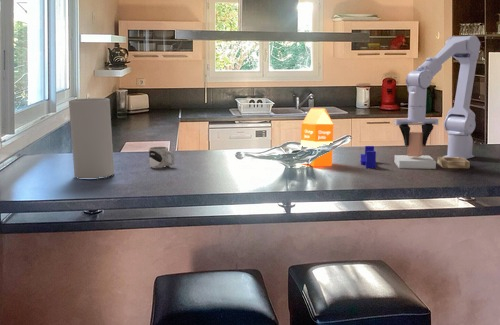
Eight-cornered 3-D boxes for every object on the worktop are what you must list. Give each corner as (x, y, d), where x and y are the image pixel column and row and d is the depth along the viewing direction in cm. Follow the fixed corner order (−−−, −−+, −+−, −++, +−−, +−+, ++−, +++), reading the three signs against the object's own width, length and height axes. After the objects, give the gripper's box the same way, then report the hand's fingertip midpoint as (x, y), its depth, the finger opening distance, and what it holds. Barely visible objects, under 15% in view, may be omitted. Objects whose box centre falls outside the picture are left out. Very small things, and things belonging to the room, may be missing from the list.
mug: (145, 167, 189) (145, 148, 188) (157, 164, 195) (156, 146, 194) (169, 169, 185) (168, 150, 184) (180, 166, 191) (179, 147, 189)
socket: (462, 163, 189) (462, 157, 189) (469, 168, 181) (469, 161, 180) (437, 163, 190) (437, 156, 190) (443, 167, 182) (443, 161, 181)
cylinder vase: (72, 174, 179) (67, 99, 175) (111, 170, 184) (106, 97, 179) (76, 182, 168) (70, 101, 163) (117, 178, 173) (112, 100, 168)
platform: (428, 162, 192) (429, 155, 191) (435, 168, 181) (436, 161, 180) (394, 162, 193) (394, 155, 193) (399, 168, 182) (399, 161, 182)
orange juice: (313, 166, 184) (315, 108, 182) (299, 163, 192) (301, 107, 190) (332, 165, 188) (334, 108, 186) (317, 163, 196) (319, 108, 194)
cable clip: (360, 162, 195) (361, 145, 194) (373, 162, 194) (373, 146, 193) (361, 168, 183) (362, 151, 182) (375, 169, 182) (375, 151, 181)
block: (422, 155, 187) (423, 132, 185) (418, 157, 183) (419, 133, 182) (411, 154, 189) (412, 131, 187) (407, 155, 186) (408, 133, 184)
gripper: (433, 104, 187) (431, 143, 190) (392, 105, 187) (391, 144, 189) (441, 106, 180) (439, 146, 183) (398, 107, 180) (397, 147, 182)
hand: (415, 145), depth 186 cm, fingers closed on block, 5 cm apart
